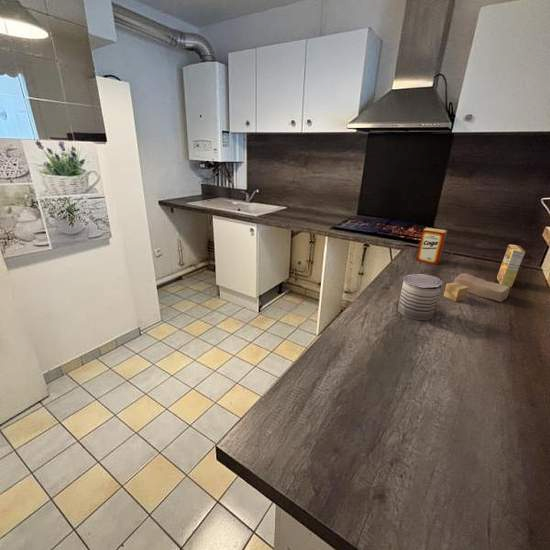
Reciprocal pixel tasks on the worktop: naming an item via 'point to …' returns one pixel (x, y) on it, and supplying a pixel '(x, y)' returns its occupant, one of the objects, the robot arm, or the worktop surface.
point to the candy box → (510, 265)
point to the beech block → (456, 291)
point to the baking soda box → (431, 245)
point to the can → (419, 296)
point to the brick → (483, 287)
